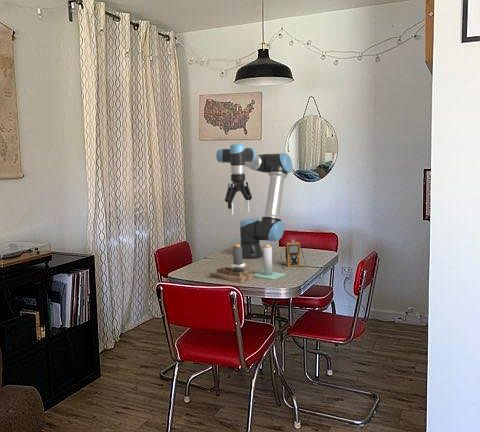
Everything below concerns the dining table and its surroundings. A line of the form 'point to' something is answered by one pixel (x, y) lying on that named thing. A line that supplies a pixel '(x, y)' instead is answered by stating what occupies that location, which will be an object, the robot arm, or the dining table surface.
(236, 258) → the grey flanged cylinder
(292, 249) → the multimeter
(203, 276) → the dining table surface
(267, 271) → the white tall cylinder
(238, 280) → the clamp board
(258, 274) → the green pad
